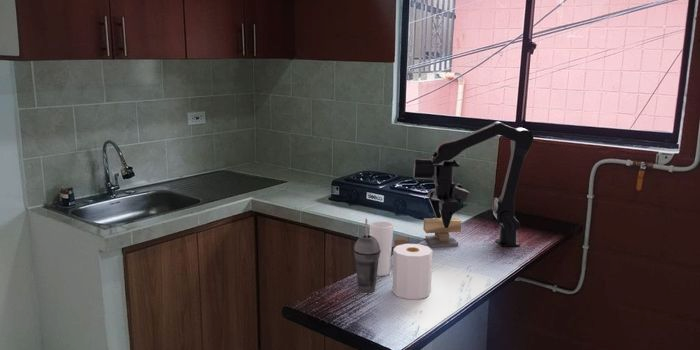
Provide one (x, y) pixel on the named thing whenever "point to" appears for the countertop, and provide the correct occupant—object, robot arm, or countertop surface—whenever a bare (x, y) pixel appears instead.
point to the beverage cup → (366, 262)
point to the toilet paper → (412, 271)
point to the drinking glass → (383, 244)
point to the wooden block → (401, 240)
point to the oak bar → (441, 225)
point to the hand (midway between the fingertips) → (442, 223)
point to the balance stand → (441, 240)
